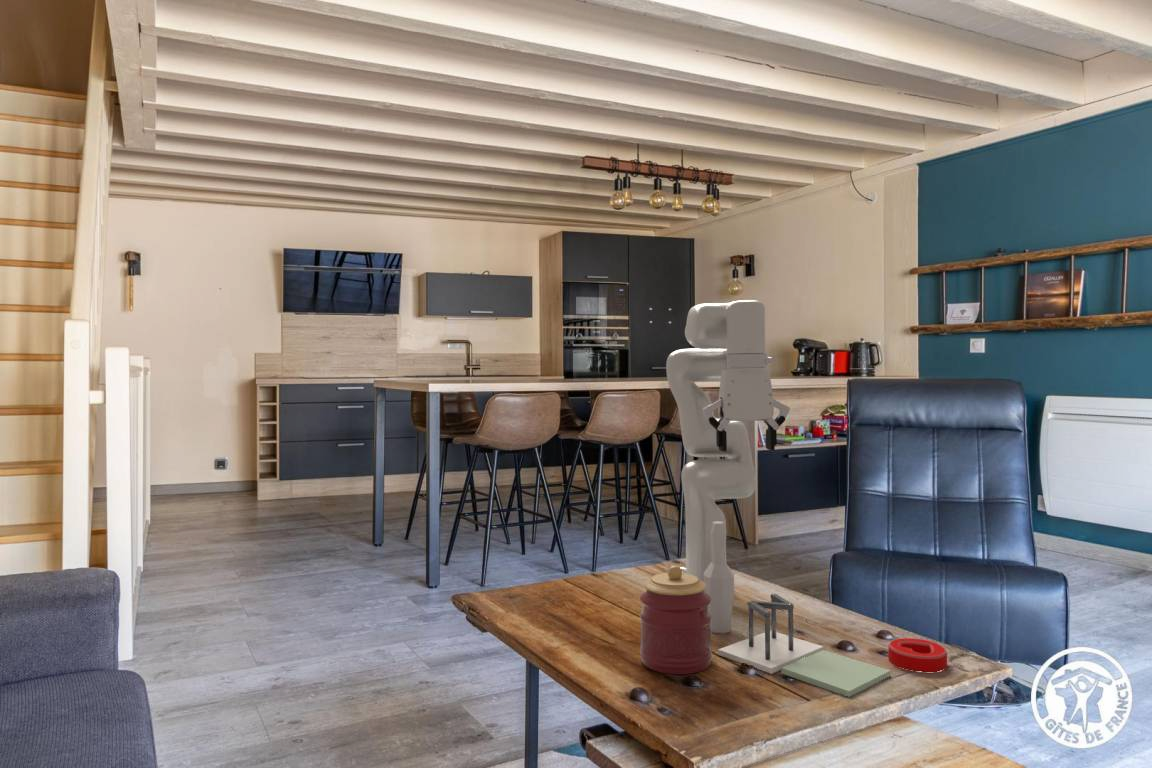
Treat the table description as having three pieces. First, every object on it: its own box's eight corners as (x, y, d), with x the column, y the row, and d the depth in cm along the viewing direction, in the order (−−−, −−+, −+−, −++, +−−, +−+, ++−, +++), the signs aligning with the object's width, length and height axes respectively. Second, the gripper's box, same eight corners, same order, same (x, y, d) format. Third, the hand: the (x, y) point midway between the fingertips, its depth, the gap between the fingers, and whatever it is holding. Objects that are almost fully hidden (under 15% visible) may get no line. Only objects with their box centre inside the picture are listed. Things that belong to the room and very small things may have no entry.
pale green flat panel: (781, 673, 134) (781, 667, 134) (823, 655, 142) (823, 649, 142) (849, 697, 124) (849, 691, 124) (890, 676, 132) (890, 670, 132)
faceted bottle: (738, 634, 154) (737, 525, 154) (707, 635, 153) (706, 526, 153) (730, 623, 160) (729, 519, 160) (700, 625, 160) (699, 519, 159)
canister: (628, 655, 143) (627, 561, 143) (688, 645, 148) (687, 554, 148) (661, 680, 131) (660, 578, 131) (725, 669, 136) (725, 570, 136)
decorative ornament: (954, 663, 138) (954, 646, 138) (935, 679, 131) (935, 660, 131) (900, 650, 145) (900, 633, 145) (879, 664, 138) (879, 647, 138)
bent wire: (736, 649, 143) (736, 603, 142) (773, 636, 150) (772, 592, 150) (768, 660, 137) (768, 613, 137) (805, 646, 144) (804, 600, 144)
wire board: (718, 654, 143) (718, 649, 143) (770, 635, 153) (770, 630, 153) (771, 673, 134) (771, 668, 134) (823, 651, 144) (823, 646, 144)
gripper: (781, 363, 155) (782, 447, 156) (698, 364, 154) (698, 449, 154) (795, 362, 148) (796, 451, 148) (707, 363, 146) (708, 453, 147)
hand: (746, 450), depth 151 cm, fingers open, 9 cm apart
